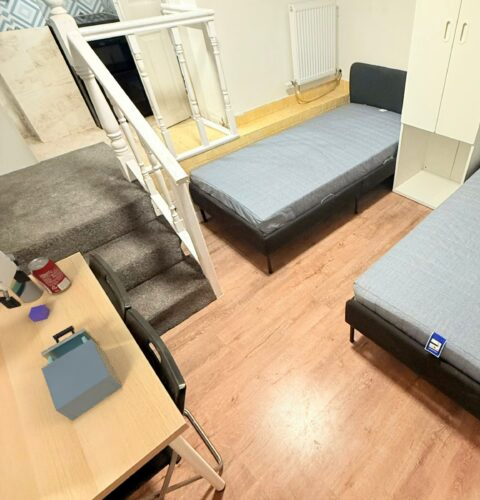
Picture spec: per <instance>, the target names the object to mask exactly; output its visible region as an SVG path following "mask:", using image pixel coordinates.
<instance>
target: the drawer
mask: <svg viewBox="0 0 480 500" xmlns="http://www.w3.org/2000/svg"><path fill="white" fill-rule="evenodd" d="M69 333H71V334H70V335H69V336H67V337H65V338H64V339H62V340H60V338H62V337H64V336H66V335H67V334H69ZM52 339H53V340H54V341H55V344H53V345H51V346H50V347H47V348H46V349H45V350H42V351H41V352H40V354H41V356H42V357H43V358H44V359H46V360H47V361H48V364H50V363H51V362H53V361H55V360H56V359H58V358H60V357H61V356H63V355H65V354H66V353H68V352H70V351H71V350H73V349H75V348H76V347H78V346H80V345H82V344H83V343H85V342H87V341H88V340H90V339H92V340H93V341H94V342H95V343H96V344H97V345H98V344H99V343H98V340H97V339H96V338H95V337H94V336H93V335H92V334H91V333H90V332H89V331H88V330H87V329H86V328H85V327H82V328H81V329H80V330H77V331H75V327H74V326H73V325H69V326H68V327H66V328H64V329H63V330H61V331H59V332H57V333H56V334H54V335H52Z"/></svg>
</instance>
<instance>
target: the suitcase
mask: <svg viewBox="0 0 480 500" xmlns="http://www.w3.org/2000/svg"><path fill="white" fill-rule="evenodd" d="M41 372H42V375H43V378H44V380H45V383H46V386H47V389H48V392H49V395H50V398H51V400H52V403H53V406H54V410H55V411H56V412H57V413H59V414H61V415H62V416H64V417H66V418H67V419H68V420H71V421H72V422H73V421H75V420H77V419H78V418H79V417H80V416H83V415H84V414H85V413H87V412H88V411H90V410H91V409H93V408H94V407H96V406H97V405H99V404H100V403H102V402H103V401H104V400H106V399H108V397H111V395H113V394H115V393H116V392H117V391H119V390H120V389H122V388H123V385H122V384H121V381H120V380H119V378H118V376H117V373H116V372H115V369H114V367H113V366H112V364H111V362H110V359H109V358H108V356H107V354H106V351H105V350H103V349H102V348H101V346H100V345H98V344H96V343H95V342H94V341H93V340H92V339H90V340H88V341H87V342H85V343H83V344H82V345H80V346H78V347H76V348H75V349H73V350H71V351H70V352H68V353H66V354H65V355H63V356H61V357H60V358H58V359H56V360H55V361H53V362H51V363H50V364H49V363H48V364H46V365H45V366H43V367H41Z"/></svg>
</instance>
